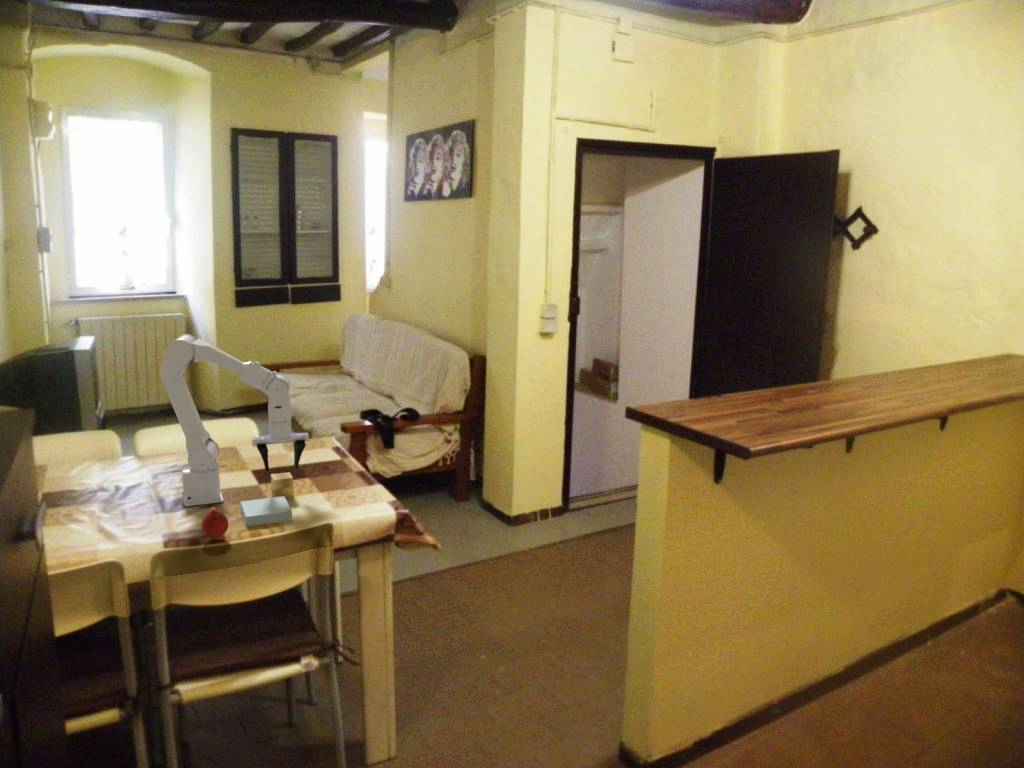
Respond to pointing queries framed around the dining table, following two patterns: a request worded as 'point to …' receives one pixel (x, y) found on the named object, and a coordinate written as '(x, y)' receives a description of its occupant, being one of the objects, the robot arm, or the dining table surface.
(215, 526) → the onion
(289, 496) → the ochre block
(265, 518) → the base block
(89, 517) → the dining table surface
